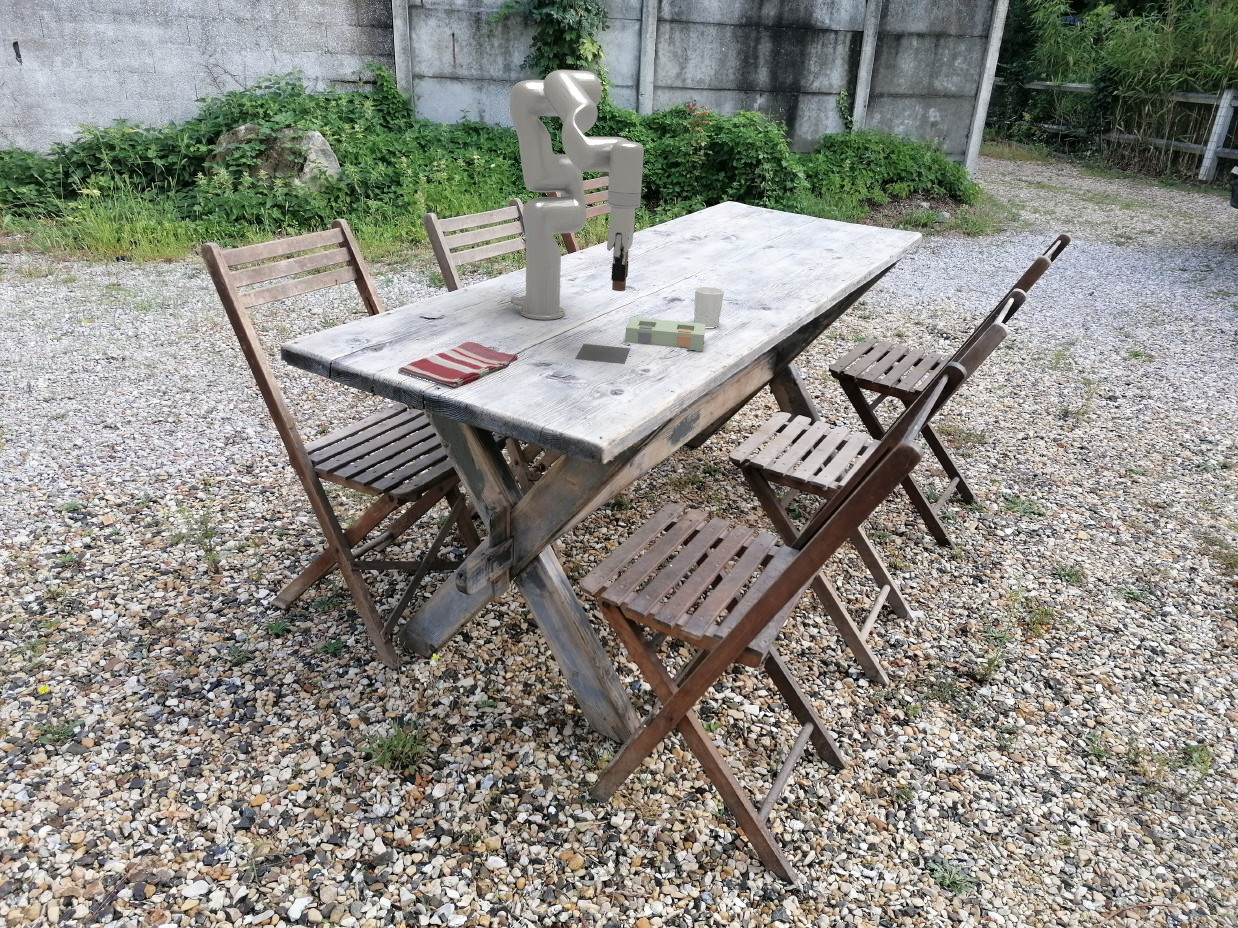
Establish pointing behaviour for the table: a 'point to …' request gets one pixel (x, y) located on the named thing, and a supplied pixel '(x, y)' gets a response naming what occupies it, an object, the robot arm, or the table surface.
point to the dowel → (617, 284)
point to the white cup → (708, 305)
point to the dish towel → (459, 365)
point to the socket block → (665, 333)
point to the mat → (603, 353)
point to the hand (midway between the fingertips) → (619, 278)
